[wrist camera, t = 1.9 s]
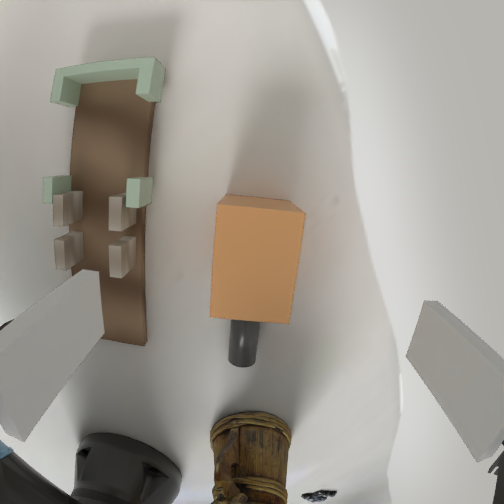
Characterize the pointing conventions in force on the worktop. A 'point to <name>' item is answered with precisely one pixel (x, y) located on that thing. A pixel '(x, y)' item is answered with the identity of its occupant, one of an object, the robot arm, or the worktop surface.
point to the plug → (254, 268)
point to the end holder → (124, 69)
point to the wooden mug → (250, 459)
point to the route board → (108, 203)
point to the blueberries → (318, 495)
